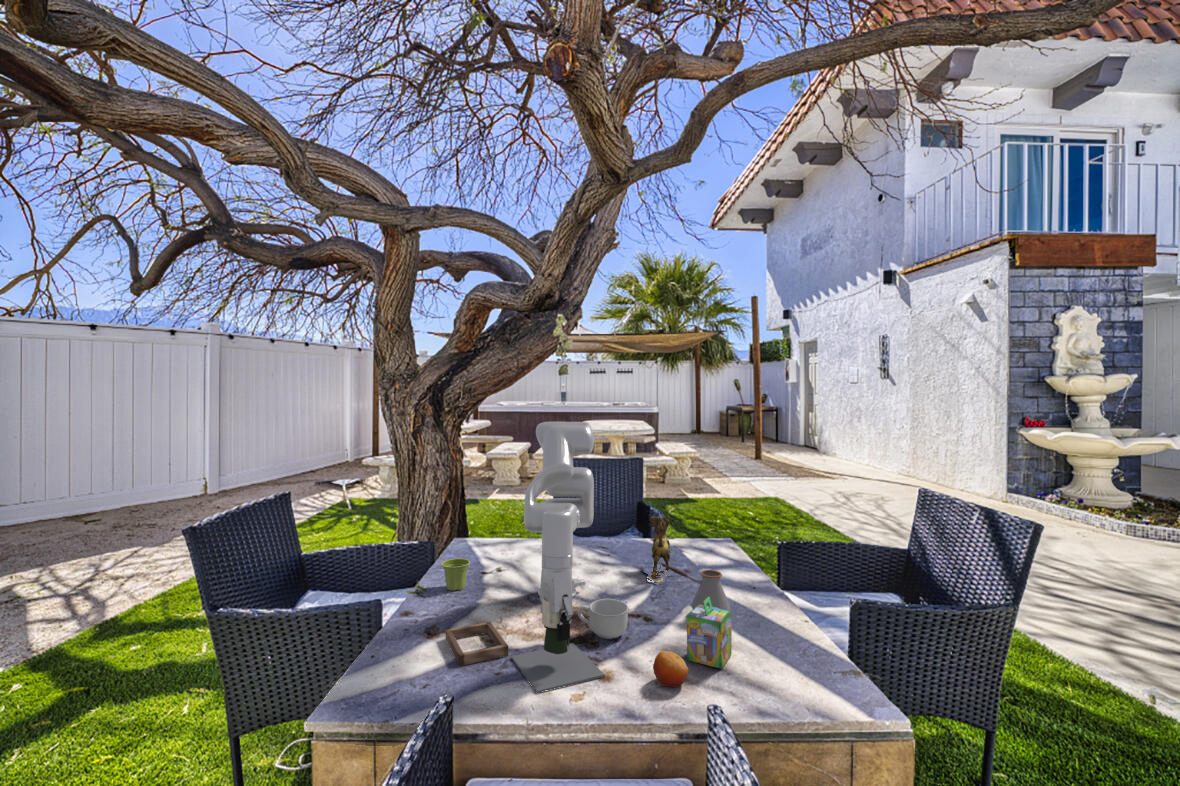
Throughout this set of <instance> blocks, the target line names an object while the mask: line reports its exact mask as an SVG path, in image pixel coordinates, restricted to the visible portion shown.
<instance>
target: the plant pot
mask: <svg viewBox="0 0 1180 786" xmlns="http://www.w3.org/2000/svg"><path fill="white" fill-rule="evenodd" d="M470 563H471V561H470V560H469V559H467V558H452V559H451V558H450V559H447V560H446V559H445V560H444V561H442V562H441V567H442V568H443V570H444V571H443V572H444V579H445V586H446V589H447V590H448V591H451V592H452V591H453V592H454V591H457V590H458V591H461V590H463V589H465V588H466V584H467V583H466V582H467V576H468V575H467V573H468V568H469V566H470Z"/></svg>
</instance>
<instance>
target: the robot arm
mask: <svg viewBox="0 0 1180 786" xmlns="http://www.w3.org/2000/svg"><path fill="white" fill-rule="evenodd" d="M535 436H536V439H537V442H538V443H539V446H540V448H541V449H542V470H541V471H540V472H538V474H536V476H535V477H534V478H533V479H532V480H531V482H530V483H529V485H528V487H527V489H526V491H525V495H524V496H525V497H524V505H523V507H524V508H523V510H524V511H523V524H524V528H525V529H526V530H527V531H528V532H530V533H535V534H537V533H539V534H540V533H541V573H540V588H539V589H538V590H537V594H538V597H539V600H540V603H541V604H542V598H543V597H544V599H545V600H546V601H548V602H549V604H550V611H551V612H552V613H554V614H556V612H557V617H558V623H559V624H557V641H564V640H570V639H571V624H570V623H572V616H573V615H574V611H573V598H574V597H575V596H576V595H577V588H578V587H583V586H586V581H585V579H579V578H574V579H573V578H572V577H573V573H572V572H573V571H572V570H573V569H572V568H573V563H574V562H573V559H574V557H573V556H574V554H573V553H574V552H573V551H574V550H573V547H574V546H573V545H574V543H573V541H574V539H573V538H574V535H573V534H574V533H573V532H575V531H576V529H579V528H580V529H581V528H582V529H583V528H589V527H591V526H592V524H593V521H594V512H595V511H594V510H595V506H594V505H595V502H594V501H595V481H594V479H595V478H594V473H593V472H592V470H591V469H590V468H588V467H583V466H580V467H579V466H578V467H577V466H574V455H589V454H591V453H592V452H593V450H594V447H595V446H594V445H595V435H594V431H593V427H592V425H591V424H590V423H589V422H588V421H544V422H541V423H539V424H537V426H536V428H535ZM544 492H546V494H548V496H551V497H554V498H547V499H546V500H544V501H543V502H536V501H537V498H538V497H539V496H540V495H541V494H542V493H544ZM559 497H560V498H559ZM575 497H576V498H575ZM562 603H563V606H564V609H565V610H560V608H561V606H562ZM561 613H565V615H564V616H563V617H562V618H561ZM543 627H544V628H545V629H546V628H547V627H546V626H544V625H543Z"/></svg>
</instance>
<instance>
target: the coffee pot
mask: <svg viewBox="0 0 1180 786" xmlns="http://www.w3.org/2000/svg"><path fill="white" fill-rule="evenodd" d="M661 565H662V566H663V567H666V568H667V569H670V570H671V571H673V572H674V573H675V574H677V575H679V576H682V577H684V578H687V579H688V580H692V581H693V582H695V583H697V584H699V587H698V589H697V591H696V594H694V595H695V596H694V598H693V600H692V602H691V609H692V610H693V609H694V608H695V607H697V606H698V605H703V601H704V600H705V599H706V598H707V597H708V596H709V597H710V601H711V605H712V607H716V608H720V609H723V610H727V611H731V605H730V602H729V600H728V599H727V595H726V592H725V590H724V588H723V585H722V582H721V581H720V580H721V578H722V577H723V574H722V572H720V571H718V570H714V569H706V570H705V569H704V570H701V571H700V572H699V573H700V575H701V578H702V580H700V579H697V578H695V577H693V576H691V575H689V574H686V573H685V572H684V571H681V570H679V569H677V568H676V567H672V566H670V564H669V565H666V563H665V562H662V563H661ZM661 565H660V568H661ZM660 568H659V569H660ZM706 606H709V603H707V604H706Z"/></svg>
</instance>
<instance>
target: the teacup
mask: <svg viewBox="0 0 1180 786" xmlns="http://www.w3.org/2000/svg"><path fill="white" fill-rule="evenodd" d="M583 610H585V611H587V614H588V615H589V619H588V618H586V617H585V616H584V615H583V614H582V611H583ZM628 612H629V606H628V604H627V603H625V602H624V601H622V600H618V599H614V598H602V599H601V598H600V599H596V600H594V601H592V602H591V603H590V604H589V605H586V604H583V605H580V606H579V608H578V610H577V616H578V617H579V619H580V620H581V621H582V622H584V623H585V624H587V626H588V627H590V629H591V631H592V632H593V634H595V635H597V637H599V638H601V639H604V638H605V639H606V640H613V639H612V638H615V639H617V638H619V637H621V635H623V634H624V633H625V631H626V630H627V628H628V619H629V613H628ZM605 639H604V640H605Z"/></svg>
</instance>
